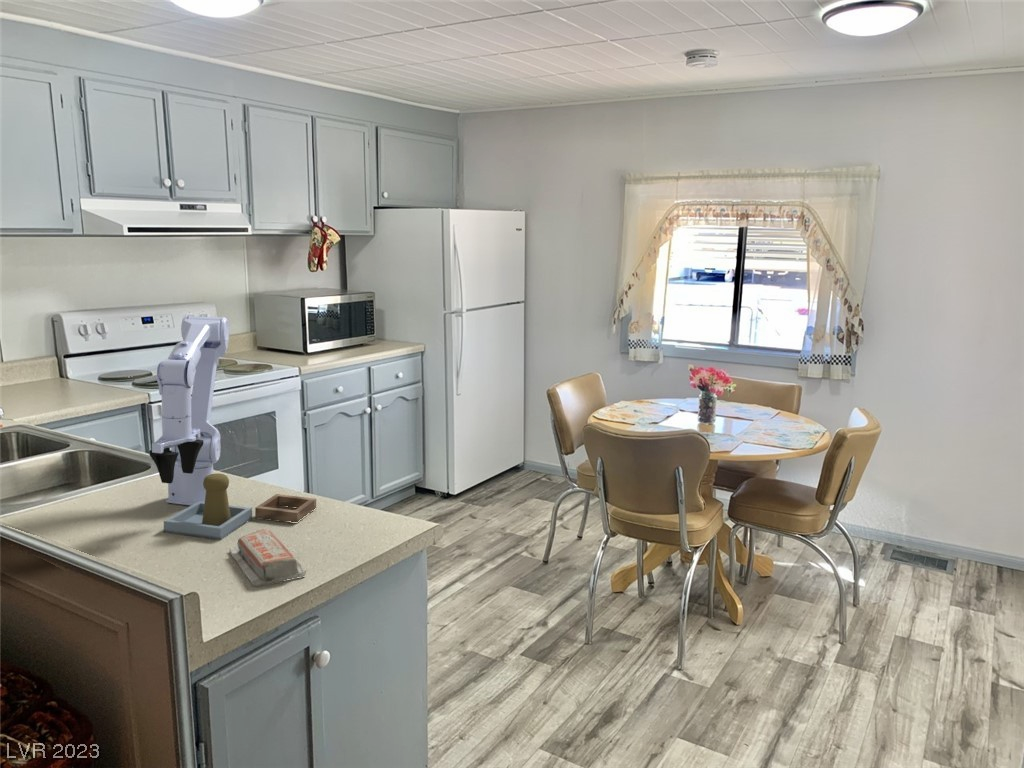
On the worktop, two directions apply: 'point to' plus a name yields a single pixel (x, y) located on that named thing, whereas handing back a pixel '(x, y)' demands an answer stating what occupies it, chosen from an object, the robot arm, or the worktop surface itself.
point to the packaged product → (265, 559)
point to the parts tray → (192, 524)
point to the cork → (216, 500)
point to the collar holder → (271, 512)
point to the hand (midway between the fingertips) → (177, 477)
